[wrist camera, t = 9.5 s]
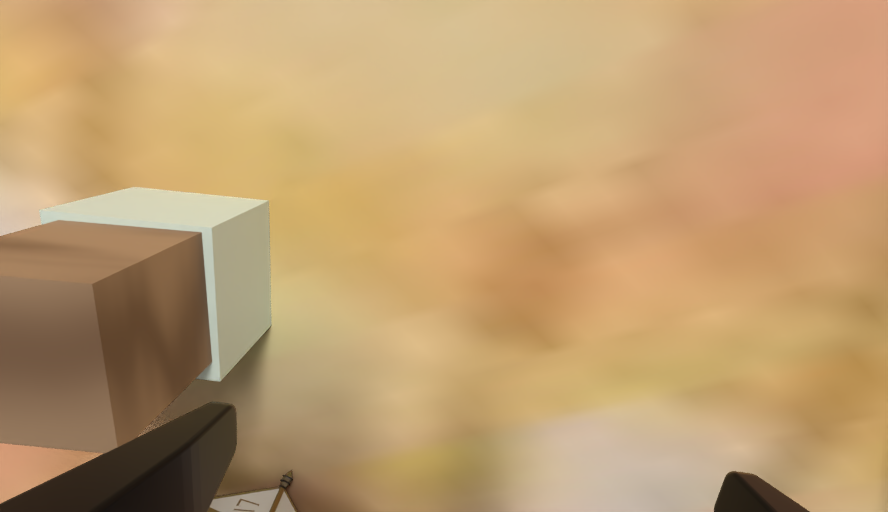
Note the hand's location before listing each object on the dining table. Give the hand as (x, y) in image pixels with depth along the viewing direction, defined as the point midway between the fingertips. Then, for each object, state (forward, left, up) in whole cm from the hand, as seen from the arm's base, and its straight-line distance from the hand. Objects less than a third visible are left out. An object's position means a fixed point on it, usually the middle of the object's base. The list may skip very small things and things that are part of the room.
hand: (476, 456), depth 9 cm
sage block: (+12, +2, -13) cm, 18 cm away
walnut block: (+12, +2, -8) cm, 14 cm away
